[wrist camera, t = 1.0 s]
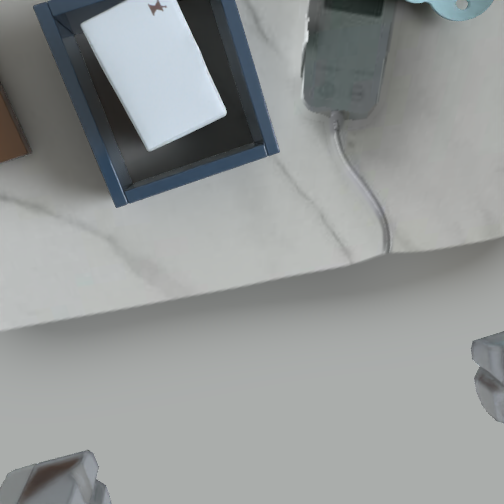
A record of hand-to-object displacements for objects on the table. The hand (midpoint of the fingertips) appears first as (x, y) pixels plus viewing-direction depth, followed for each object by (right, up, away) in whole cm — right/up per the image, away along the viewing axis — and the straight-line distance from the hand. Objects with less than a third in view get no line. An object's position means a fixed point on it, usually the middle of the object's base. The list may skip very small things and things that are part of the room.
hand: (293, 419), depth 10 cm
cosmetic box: (-7, +14, +22) cm, 27 cm away
